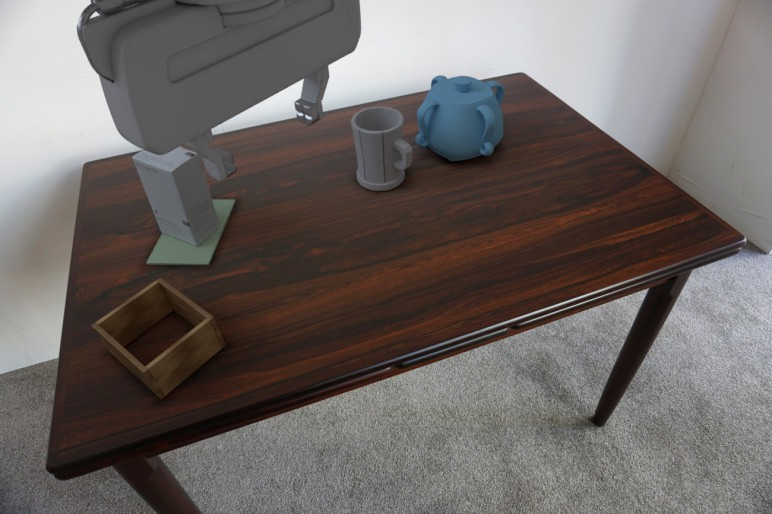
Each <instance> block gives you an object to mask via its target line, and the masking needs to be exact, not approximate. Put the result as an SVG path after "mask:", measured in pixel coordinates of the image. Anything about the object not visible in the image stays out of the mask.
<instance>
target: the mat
mask: <svg viewBox="0 0 772 514" xmlns="http://www.w3.org/2000/svg"><path fill="white" fill-rule="evenodd" d="M212 201H213V204H214V208H215V211H216V214H217V218H218V221H219V225H220V227H219V228H218V229H217V230H216V231H215V232H214V233H213V234H211V235H210V236H209V237H208V238H207V239H206V240H205V241H203V242H202V243H201V244H200V245H199V246H193V245H192V244H190V243H187V242H185V241H183V240H180V239H178V238H176V237H173V236H170V235H167V234H164V233H162V232H161V235H160V236H159V238H158V240H157V242H156V244H155V245H154V247H153V249H152V251H151V253H150V255H149V257H148V259H146V263H145V264H146V265H147V266H207V267H208V266H210V264H211V262H212V259H213V257H214V255H215V252H216V250H217V247H218V246H219V243H220V240H221V238H222V236H223V234H224V230H225V228H226V226H227V224H228V221H229V219H230V216H231V213H232V211H233V209H234V206H235V204H236V201H237V200H236V198H235V199H231V198H230V199H229V198H228V199H226V198H225V199H223V198H222V199H219V198H218V199H217V198H216V199H215V198H212Z"/></svg>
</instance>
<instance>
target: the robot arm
mask: <svg viewBox="0 0 772 514" xmlns="http://www.w3.org/2000/svg"><path fill="white" fill-rule="evenodd" d="M95 13H97V15H95V16H93V15H94V14H95ZM361 13H362V12H361V2H360V0H90V4H89V5H87V6H85V8H84V9H83V10H82V12H81V13H80V16H79V19H78V21H77V22H78V23H77V24H76V34H77V39H78V40H79V43H80V45H81V47H82V49H83V52H84V54H85V56H86V58H87V61H88V63H89V65H90V67H91V68H92V70H93V71H94V72H95V73H96V74H97V75H98V78H99V82H100V85H101V89H102V93H103V96H104V98H105V102H106V105H107V107H108V111H109V113H110V117H111V119H112V121H113V124H114V126H115V128H116V131H117V132H118V133H119V136H121V137H122V138H123V139H124V140H125V141H127V142H128V143H130V144H132V145H133V146H135V147H137V148H139V149H141V150H146V151H148V152H151V153H153V154H156V155H164V154H166V153H168V152H170V151H172V150H174V149H176V148H178V147H179V146H181V147H182V146H183V145H185V146H186V147H187V148H189V149H190V150H191V151H193V152H196V153H197V154H198V155H199V156H200V158H201V159H202V162H203V165H204V168H205V171H206V172H207V174H208V175H209V176H210V177H211V178H213V179H215V180H216V181H218V182H222V181H224V180H226V179H227V178H229V177H230V176H232V175H233V174H236V173H237V171H238V169H237V166H236V165H235V159H234V154H233V153H232V152H230V151H228V150H224V149H223V148H221V147H220V146H218V145H217V146H214V147H211V146H210V145H209V144H211V143H214V140H215V138H214V135H213V131H212V130H213V129H214V128H216V127H218V126H220V125H221V124H224V123H225V122H227V121H229V120H231V119H233V118H234V117H236V116H239V115H240V114H242V113H243V112H245V111H247V110H249V109H251V108H253V107H255V106H256V105H258V104H260V103H262V102H264V101H266V100H268V99H269V98H271V97H273V96H275V95H276V94H278V93H280V92H282V91H284V90H286V89H288V88H290V87H292V86H293V85H295V84H297V83H299V82H300V81H302V80H303V81H302V86H301V93H300V98H298V99H296V100H295V101H294V102H293V105H294V109H295V110H296V114H295V116H296V118H297V120H298V122H299V123H301V124H306V126H309V127H310V126H312V125H314V124H316V123H318V122H319V121H321V120H322V119H324V109H323V108H324V107H323V100H324V96H325V93H326V90H327V86H328V84H329V79H330V69H329V66H330V65H332V64H334V63H335V62H337V61H339V60H341V59H343V58H344V57H346V56H349V55H351V54H352V53H354V51H355V50H356V49H357V47H358V43H359V41H360V38H361V36H362V16H361V15H362V14H361ZM92 16H93V17H92Z"/></svg>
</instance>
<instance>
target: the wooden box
mask: <svg viewBox="0 0 772 514" xmlns="http://www.w3.org/2000/svg"><path fill="white" fill-rule="evenodd" d="M173 311H174V312H175V313H176V314H178V315H179V316H180V317H181V318H183V319H184V320H185V321H187V322H188V323H189V324H191V325H192V326H193V328H192V329H190V331H188V332H187V333H186V334H185V335H184V336H182V337H181V338H180V339H178V340H177V341H176V342H174V343H173V344H172V345H171V346H169V347H168V348H167V349H166V350H164V351H163V352H162V353H160V354H159V355H158V356H157V357H155V358H154V359H153V360H152V361H150V362H149V363H148V364H147V365H144V364H143V363H142V362H140V361H139V360H138V359H137V358H136V357H135V356H134V355H133V354H131V353H130V352H129V351H128V350H127V349H126V348H125V347H126V346H127V345H129V344H130V343H131V342H133V341H134V340H136V338H138V337H139V336H141V335H142V334H143V333H145V332H146V331H148V330H149V329H150V328H151V327H153V326H154V325H156V324H157V323H159V321H161V320H162V319H164V318H165V317H166V316H167V315H169V314H170V313H172V312H173ZM91 327H92V329H93V330H94V332H95V333H96V335H97V336H98V337H99V339H100V340H101V341H102V343H103V344H104V346H105V348H106V349H107V350H108V351H109V353H110V354H112V356H113V357H114V358H115V359H116V360H117V361H119V363H121V364H122V365H123V366H124V367H125V368H126V369H127V370H128V371H130V373H131V374H133V375H134V376H135V377H136V378H137V379H138V380H139V381H140V382H142V384H143V385H145V386H146V387H147V388H148V389H149V390H150V391H151V392H152V393H153V394H155V395H156V396H157V397H158V398H159V399H160V400H163V399H164V398H165V397H166V396H167V395H168V394H169V393H171V392H172V391H173V390H174V389H176V388H177V387H178V386H179V385H180V384H182V383H183V381H185V380H187V378H189V377H190V376H191V375H192V374H193V373H195V372H196V371H198V369H199V368H200V367H202V366H203V365H204V364H206V362H208V361H209V360H210V359H211V358H213V356H214V355H216V354H217V353H219V351H221V349H223V348H224V347H226V342H225V340H224V338H223V336H222V333H221V330H220V328H219V326H218V324H217V322H216V319H215V316H213V315H212V314H211V313H209V312H208V311H206V310H205V309H204V308H203V307H201V306H199V304H197V303H196V302H194V301H192V299H190V298H189V297H187V296H186V295H185V294H183V293H182V292H181V291H179V290H178V289H177V288H175V287H174V286H173V285H171V284H169V283H168V282H167V281H165V280H164V279H163V278H161V277H159V278H157V280H155V281H153V282H151V283H150V284H149V285H147V286H146V287H145V288H143V289H141V290H140V291H139V292H137V293H136V294H134V295H132V297H130V298H129V299H127V300H126V301H124V302H123V303H121V304H120V305H119V306H117V307H115V308H114V309H113V310H111V311H110V312H108V313H107V314H105V315H103V317H101V318H100V319H98V320H97V321H95V322H94V323H92V324H91Z"/></svg>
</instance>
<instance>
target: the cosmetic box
mask: <svg viewBox="0 0 772 514" xmlns="http://www.w3.org/2000/svg"><path fill="white" fill-rule="evenodd" d="M131 159H132V161H133V164H134V167H135V169H136V172H137V174H138V176H139V180H140V181H141V184H142V188H143V190H144V192H145V195H146V198H147V199H148V202H149V204H150V205H149V206H151V209H152V212H153V214H154V217H155V221H156V224H157V225H158V227H159V231H160V232H161V234H162V233H164V234H167V235H170V236H173V237H176V238H178V239H180V240H183V241H185V242H187V243H190V244H192V245H193V246H199V245H200V244H201V243H202V242H203V241H205V240H206V239H207V238H208V237H209V236H210V235H211V234H213V233H214V232H215V231H216V230H217V229H218V228H219V227H220V225H219V221H218V218H217V214H216V211H215V208H214V204H213V201H212V199H213V197H212V194H211V191H210V188H209V187H210V186H209V183H208V180H207V177H206V174H205V170H204V167H203V163H202V160H201V156H200V155H198V154H197V153H196V152H194V151H193V150H191V149H190V150H189V149H186V148H184V147H182V145H181V146H179V147H178V148H176V149H174V150H172V151H170V152H168V153H166V154H164V155H156V154H153V153H151V152H148V151H146V150H143V149H141V151H139V152H137V153H136V154H134V155H132V157H131Z"/></svg>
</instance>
